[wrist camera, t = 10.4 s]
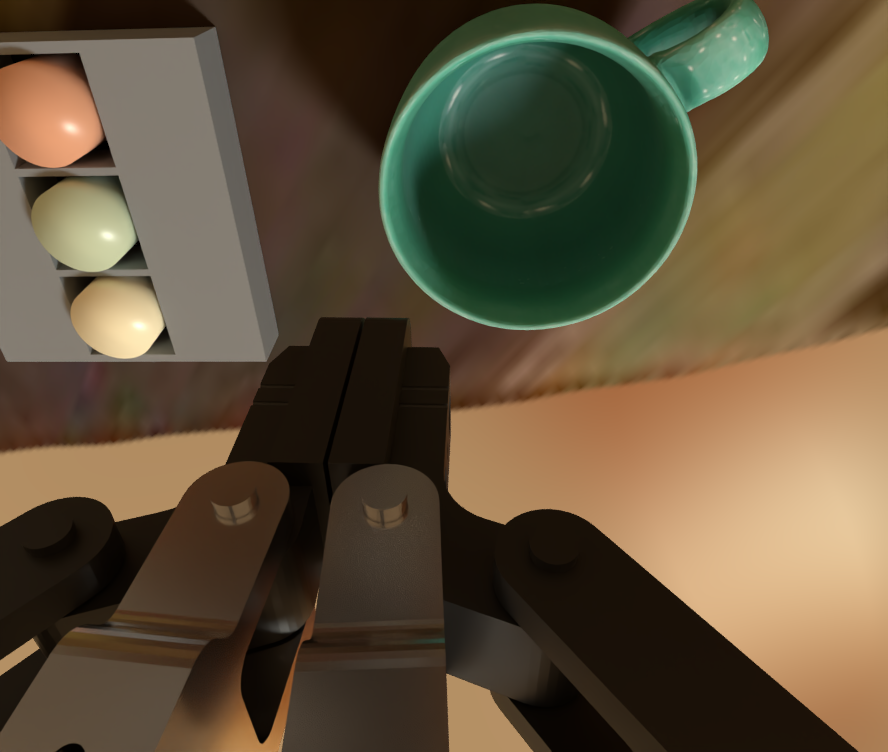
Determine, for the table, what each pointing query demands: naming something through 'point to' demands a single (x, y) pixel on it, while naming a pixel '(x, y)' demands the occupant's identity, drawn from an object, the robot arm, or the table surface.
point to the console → (144, 203)
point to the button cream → (118, 315)
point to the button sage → (85, 222)
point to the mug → (554, 156)
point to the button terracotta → (49, 110)
